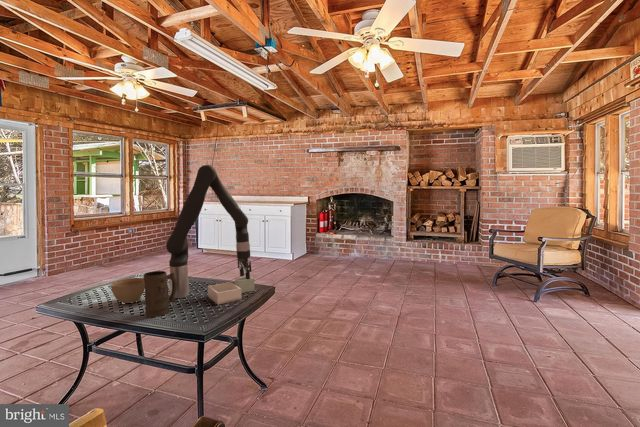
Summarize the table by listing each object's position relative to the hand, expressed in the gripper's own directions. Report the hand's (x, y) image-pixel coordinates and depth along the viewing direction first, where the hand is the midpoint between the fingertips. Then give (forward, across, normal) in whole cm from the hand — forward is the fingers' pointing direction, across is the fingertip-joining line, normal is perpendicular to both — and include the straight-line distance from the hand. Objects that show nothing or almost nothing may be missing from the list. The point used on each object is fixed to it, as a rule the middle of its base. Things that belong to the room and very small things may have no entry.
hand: (245, 277), depth 199 cm
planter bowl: (+7, -21, -56) cm, 61 cm away
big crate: (+7, +6, -14) cm, 17 cm away
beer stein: (+7, +6, -45) cm, 46 cm away
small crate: (+8, 0, 0) cm, 8 cm away
